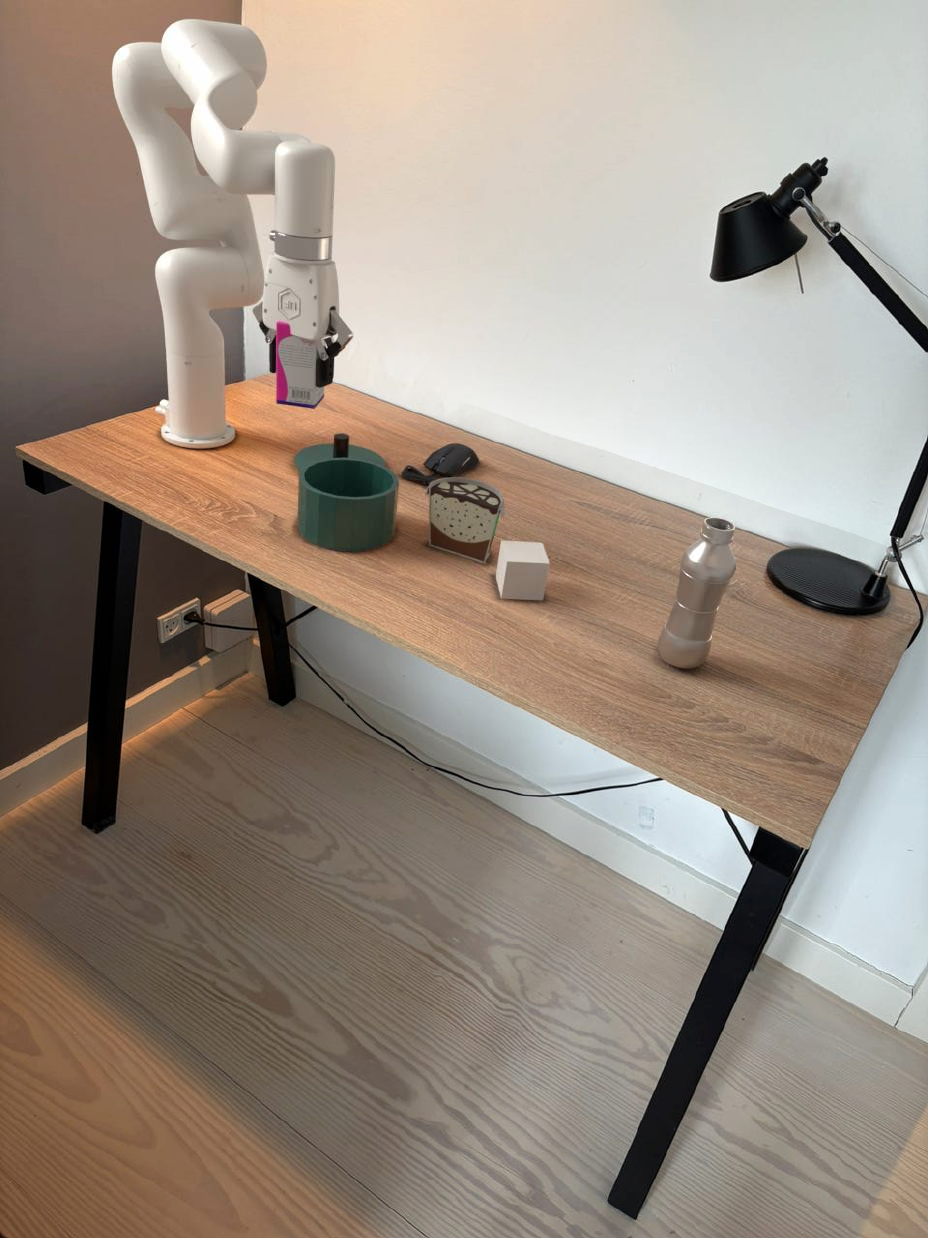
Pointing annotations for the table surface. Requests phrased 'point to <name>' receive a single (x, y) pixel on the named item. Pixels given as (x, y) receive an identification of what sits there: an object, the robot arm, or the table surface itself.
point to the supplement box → (296, 370)
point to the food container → (464, 516)
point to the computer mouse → (444, 463)
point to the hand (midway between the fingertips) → (300, 377)
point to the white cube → (522, 570)
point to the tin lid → (335, 452)
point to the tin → (347, 504)
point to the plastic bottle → (699, 595)
